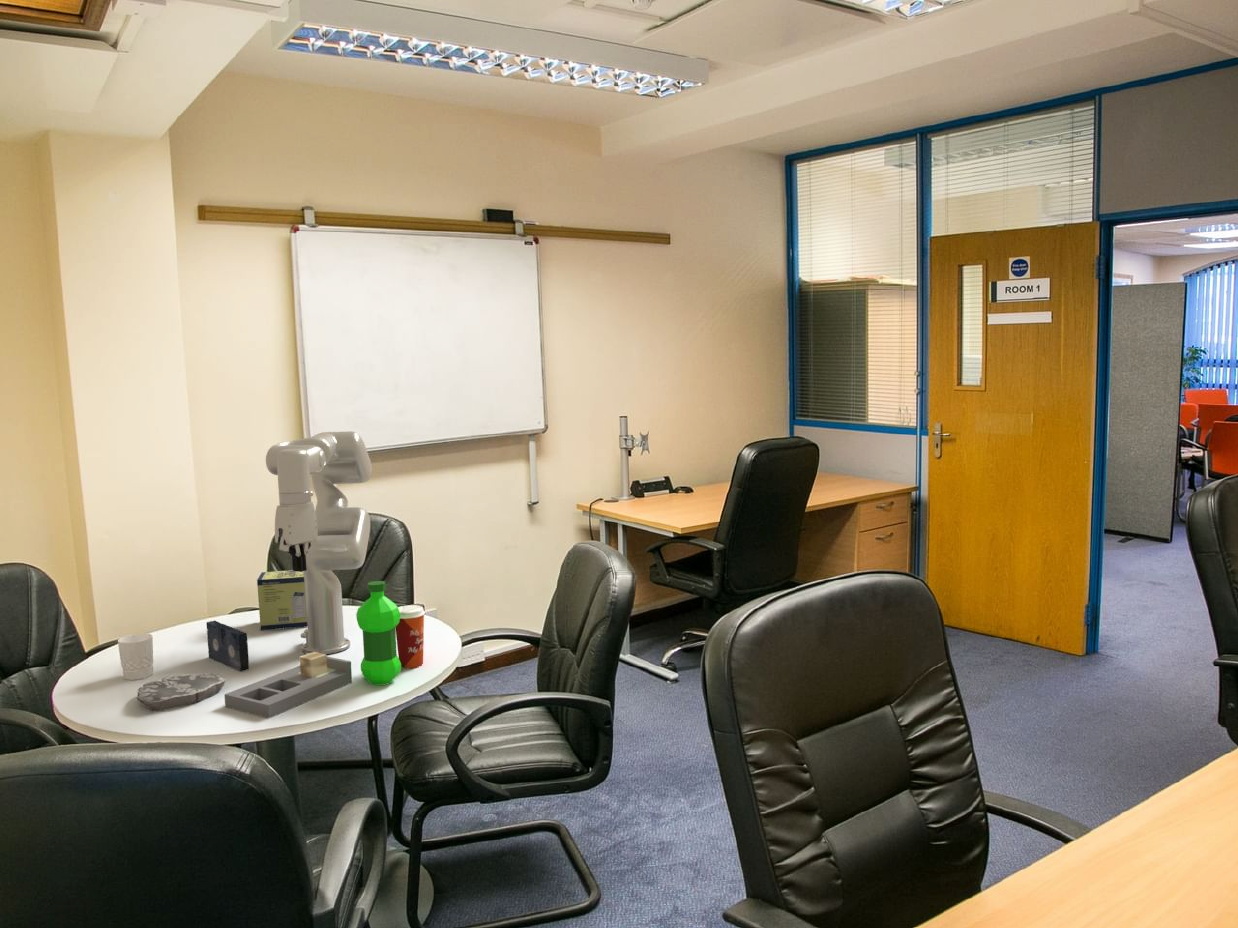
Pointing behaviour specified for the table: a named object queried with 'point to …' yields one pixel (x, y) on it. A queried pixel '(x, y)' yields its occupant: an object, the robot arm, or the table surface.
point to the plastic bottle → (379, 635)
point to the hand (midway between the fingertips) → (299, 570)
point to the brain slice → (179, 690)
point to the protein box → (282, 600)
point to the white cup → (136, 656)
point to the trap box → (288, 689)
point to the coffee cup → (410, 636)
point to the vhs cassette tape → (227, 645)
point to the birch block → (313, 664)
